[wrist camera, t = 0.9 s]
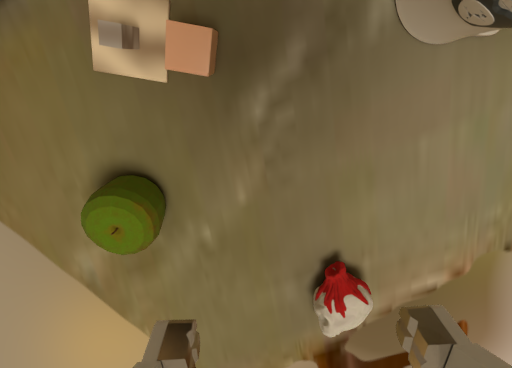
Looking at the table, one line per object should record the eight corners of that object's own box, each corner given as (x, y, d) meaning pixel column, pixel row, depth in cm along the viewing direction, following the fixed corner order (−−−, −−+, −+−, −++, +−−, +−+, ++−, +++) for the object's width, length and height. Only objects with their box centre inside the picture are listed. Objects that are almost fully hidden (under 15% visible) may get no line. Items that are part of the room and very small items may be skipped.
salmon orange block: (179, 25, 37) (166, 19, 31) (218, 32, 38) (212, 28, 32) (177, 66, 39) (164, 69, 33) (214, 73, 40) (208, 76, 34)
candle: (317, 315, 61) (299, 258, 56) (369, 302, 59) (354, 243, 55) (326, 351, 52) (305, 288, 48) (387, 338, 51) (371, 272, 46)
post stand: (89, -15, 35) (58, -28, 29) (169, 1, 36) (154, -9, 30) (95, 70, 39) (69, 73, 34) (167, 82, 40) (154, 87, 34)
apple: (92, 187, 47) (50, 223, 37) (143, 158, 45) (113, 187, 35) (134, 234, 51) (107, 278, 42) (183, 210, 49) (166, 249, 39)
